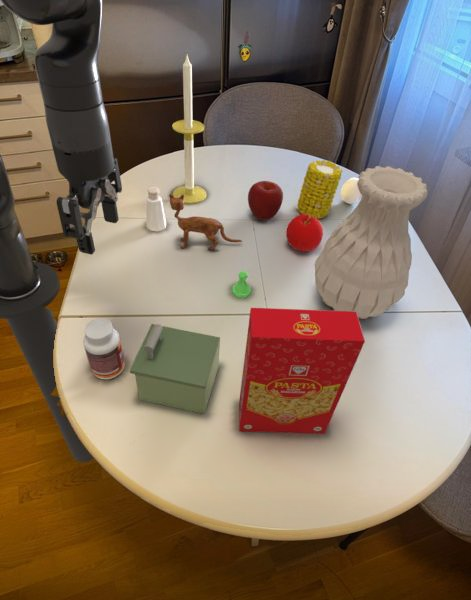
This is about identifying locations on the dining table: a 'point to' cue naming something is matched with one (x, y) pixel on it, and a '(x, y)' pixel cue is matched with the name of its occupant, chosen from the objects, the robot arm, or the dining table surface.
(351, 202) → the egg
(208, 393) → the bin
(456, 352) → the dining table surface
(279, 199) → the apple
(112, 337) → the pill bottle
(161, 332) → the bread bin lid
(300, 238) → the fruit
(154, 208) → the pepper shaker
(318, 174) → the food
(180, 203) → the cat figurine
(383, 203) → the vase
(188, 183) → the candle
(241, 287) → the game piece
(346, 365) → the food packaging
